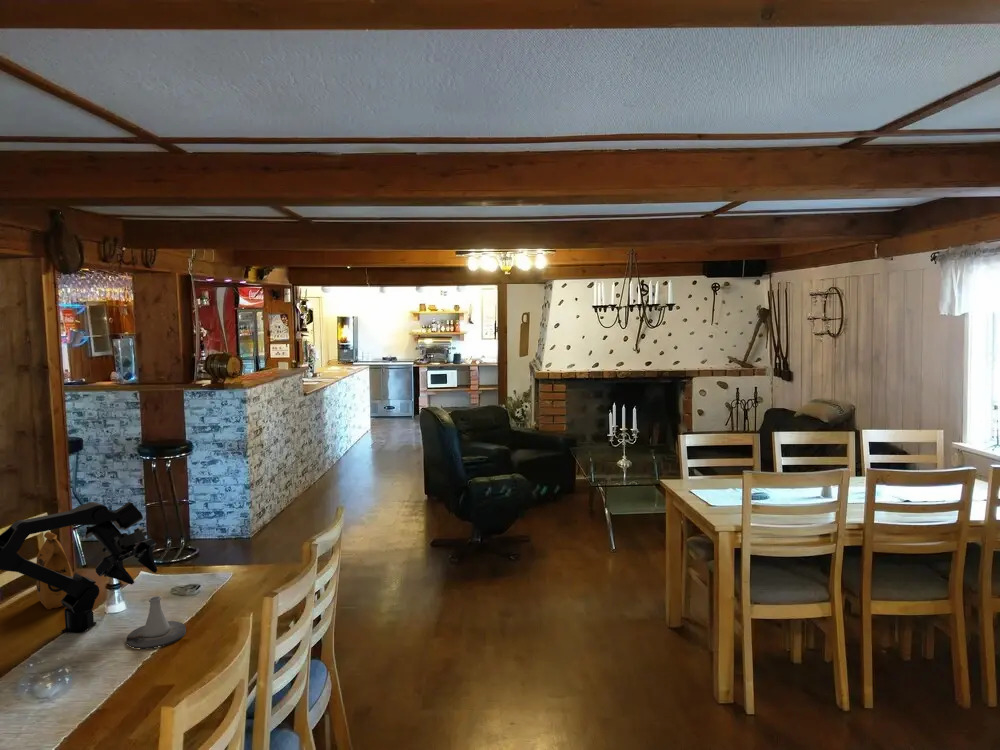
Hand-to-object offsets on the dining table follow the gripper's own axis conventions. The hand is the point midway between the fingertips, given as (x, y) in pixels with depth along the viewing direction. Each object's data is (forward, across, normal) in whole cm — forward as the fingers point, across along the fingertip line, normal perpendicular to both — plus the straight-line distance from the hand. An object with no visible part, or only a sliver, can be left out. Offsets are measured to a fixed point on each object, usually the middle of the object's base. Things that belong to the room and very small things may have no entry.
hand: (145, 577), depth 202 cm
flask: (+16, -8, +2) cm, 17 cm away
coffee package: (-18, +6, +38) cm, 42 cm away
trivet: (+16, -8, +3) cm, 18 cm away
